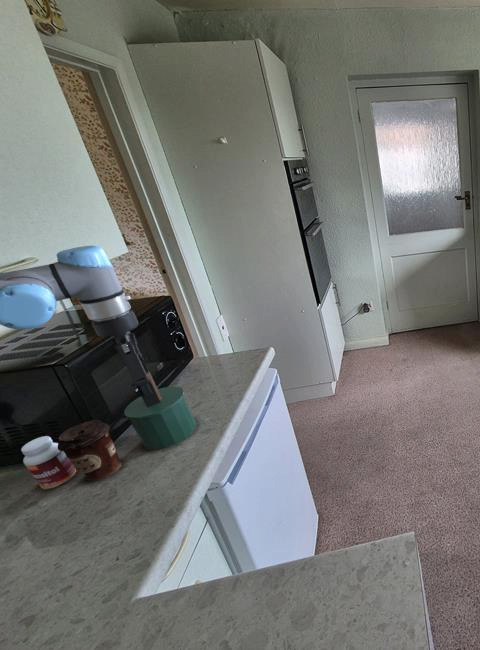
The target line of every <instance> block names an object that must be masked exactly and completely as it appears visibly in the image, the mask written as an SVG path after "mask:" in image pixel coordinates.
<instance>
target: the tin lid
mask: <svg viewBox="0 0 480 650" xmlns="http://www.w3.org/2000/svg"><path fill="white" fill-rule="evenodd" d="M145 372H146V374H147V377H149V379H150V381H151V383H152V385H153V387H154V389H155V391H156V393H157V395H158V397H159V399H160V401H161V403H158V404H156V405H153V406H151V407H148V408H147V406H146V404H145V403H144V401H143V399H142V397H141V396H139V397H137V398H136V399H134V400H133V401H131V402H130V403H129V404H128V405H126V407H125V409H124V411H123V412H124V413H123V414H124V417H126V418H127V419H128V420H129V419H144V418H148V417H152V416H155V415H157V414H160V413H162V412H164V411H166V410H168V409H170V408H172V407H173V406H175V405H176V404H177V403H178V402H180V401H181V399H182V398H183V397H184V398H185V389H184V388H182V387H181V386H165V387H162V388H158V387H157V385H156V382H155V380H154V378H153V375H152V374H151V372H150V370H149V371H145ZM153 380H154V381H153ZM154 382H155V383H154Z"/></svg>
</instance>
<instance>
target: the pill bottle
mask: <svg viewBox="0 0 480 650" xmlns="http://www.w3.org/2000/svg"><path fill="white" fill-rule="evenodd" d="M58 443H59V442H54V441H53V439H52V437H50V436H49V435H45V436H43V435H42V436H40V437H37V438H35V439H32V440H31V441H28V442H27V443H25V444H24V445H23V446H22V447H21V449H20V451H21V453H22V454H23V455H24V457H23V459H22V462H23V464H24V466H25V467H26V469H27V470H28V471H29V473H30V474H31V476H32V478H33V479H34V480H35V481H36V483H37V484H38V485H39V487H40V488H41V489H42V490H49V489H53V488H55V487H58V486H60V485H61V484H64V483H66V482H67V481H69V480H70V479H71V478H72V477H73V476H74V475H76V473H77V467H76V466H75V465H74V464H72V462H71V461H70V460H69V459H68V458H67V456H66V454H65V453H64V452H63V451H59V450H58Z"/></svg>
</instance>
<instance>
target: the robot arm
mask: <svg viewBox="0 0 480 650" xmlns="http://www.w3.org/2000/svg"><path fill="white" fill-rule="evenodd" d="M56 260H57V261H55V262H53V263H49V264H43V265H39V266H32V267H27V268H22V269H16V270H12V271H11V270H10V271H6V272H2V271H1V272H0V326H2V327H5V328H8V329H11V330H19V331H20V330H31V329H35V328H38V327H41V326H42V325H44V324H46V323H47V322H48V321H50V320H51V319H52V317H53V316H54V314H55V310H56V309H57V306H58V305H57V302H60V301H63V300H67V299H68V300H69V299H71V298H75V297H77V298H78V300H79V303H80V305H81V307H82V309H83V311H84V313H85V314H86V316H87V319H88V320H91V325H92V327H93V329H94V331H95V333H96V334H97V336H98V337H101V338H109V337H113V338H112V339H111V340H112V345H113V347H114V349H116V350H117V352H118V356H119V357H120V359H122V360H123V362H124V364H125V366H126V369H127V371H128V373H129V375H130V377H131V379H132V382H133V383H131V384H130V385H131V388H134V387H136V389H137V391H138V392H139V395H140V397H142V399H143V401H144V403H145V404H146V406H147V408H148V407H151V406H153V405H156V404H158V403H161V401H160V399H159V397H158V395H157V393H156V391H155V389H154V387H153V385H152V383H151V381H150V379H149V377H147V374H146V372H145V371H149V372H150V370H149V367H148V366H147V364H146V361H148V358H147V356H146V355H145V356H143V354H142V353H141V351H140V350H139V347H138V345H139V344H138V341H137V338H136V336H135V334H134V332H130V331H133V330H134V329H136V328H137V327H138V325H139V321H138V319H137V316H136V314H135V312H134V310H132V309H131V308H132V306H131V304H130V302H129V300H131V299H132V298H131V296H130V295H126V294H125V290H124V289H123V287H122V285H121V282H120V280H119V278H118V275H117V273H116V270H115V269H114V267H113V264H112V263H111V260H110V259H109V257H108V255H107V253H106V251H105V250H104V248H102V247H100V246H99V245H83V246H77V247H72V248H68V249H63V250H60V251H59V252H57V253H56ZM153 381H154V383H155V384H156V382H155V380H154V379H153Z"/></svg>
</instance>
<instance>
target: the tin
mask: <svg viewBox="0 0 480 650" xmlns="http://www.w3.org/2000/svg"><path fill="white" fill-rule="evenodd" d="M128 420H129V421H130V423H131V425H132V427H133V429H134V431H135V432H136V434H137V436H138V438H139V440H140V442H141V444H142V445H143V447H144V448H145V449H146V450H149V451H157V450H162V449H163V450H164V449H166V448H170V447H172V446H174V445H177V444H178V443H180V442H182V441H183V440H185V439H186V438H188V437H189V436H190V435H192V434H193V433H194V431H196V428H197V423H196V420H195V418H194V416H193V413H192V411H191V409H190V406H189V404H188V402H187V400H186V398H185V396H184V397H183V398H182V399H181V401H180V402H178V403H177V404H176V405H175V406H173V407H172V408H170V409H168V410H166V411H164V412H162V413H160V414H157V415H155V416H152V417H148V418H144V419H129V418H128Z"/></svg>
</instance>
